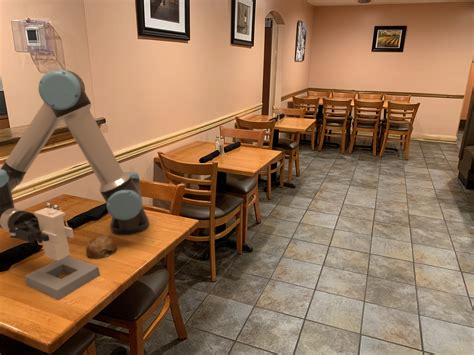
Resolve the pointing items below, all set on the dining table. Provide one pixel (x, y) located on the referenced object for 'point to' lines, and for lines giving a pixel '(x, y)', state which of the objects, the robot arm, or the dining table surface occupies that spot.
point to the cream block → (53, 224)
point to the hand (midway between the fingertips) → (64, 236)
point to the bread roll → (101, 246)
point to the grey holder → (59, 288)
